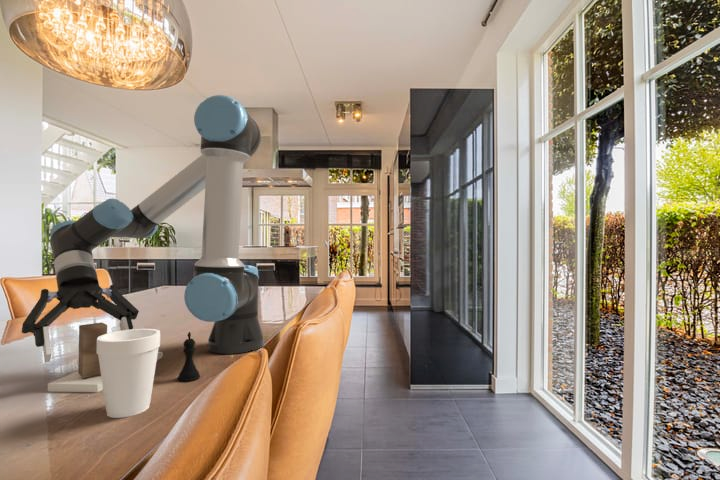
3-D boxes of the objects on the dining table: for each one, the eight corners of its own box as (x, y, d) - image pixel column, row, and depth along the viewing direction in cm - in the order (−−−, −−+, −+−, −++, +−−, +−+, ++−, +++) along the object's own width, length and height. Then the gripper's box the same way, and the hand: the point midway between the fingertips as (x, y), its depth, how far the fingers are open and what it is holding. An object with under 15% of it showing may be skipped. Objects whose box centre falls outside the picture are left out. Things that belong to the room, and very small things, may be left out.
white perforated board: (162, 357, 93) (162, 351, 93) (97, 392, 71) (97, 384, 71) (124, 357, 93) (124, 350, 93) (47, 391, 71) (47, 383, 71)
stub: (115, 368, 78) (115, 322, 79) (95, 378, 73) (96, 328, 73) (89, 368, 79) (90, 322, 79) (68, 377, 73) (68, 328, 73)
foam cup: (116, 399, 68) (117, 329, 68) (168, 397, 68) (169, 328, 69) (82, 423, 58) (83, 342, 58) (142, 421, 59) (143, 341, 59)
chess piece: (174, 383, 75) (175, 335, 76) (180, 375, 80) (181, 330, 80) (197, 381, 76) (198, 333, 77) (201, 374, 81) (202, 329, 81)
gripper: (132, 281, 96) (152, 348, 86) (1, 289, 78) (5, 376, 68) (139, 262, 93) (160, 330, 83) (3, 265, 74) (9, 353, 64)
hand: (91, 351), depth 75 cm, fingers open, 13 cm apart
